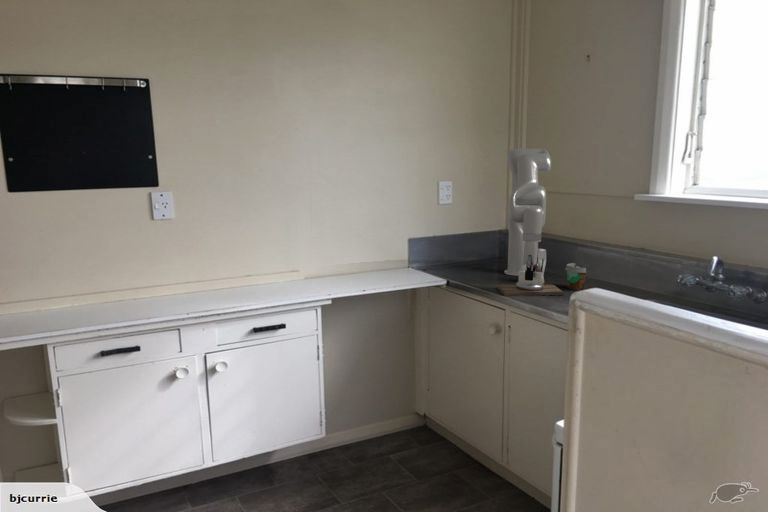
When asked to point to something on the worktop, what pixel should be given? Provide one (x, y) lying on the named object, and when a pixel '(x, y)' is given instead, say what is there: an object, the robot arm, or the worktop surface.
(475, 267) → the worktop surface
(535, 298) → the worktop surface
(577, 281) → the food container
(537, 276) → the dial
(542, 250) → the beer glass
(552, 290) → the dial board
